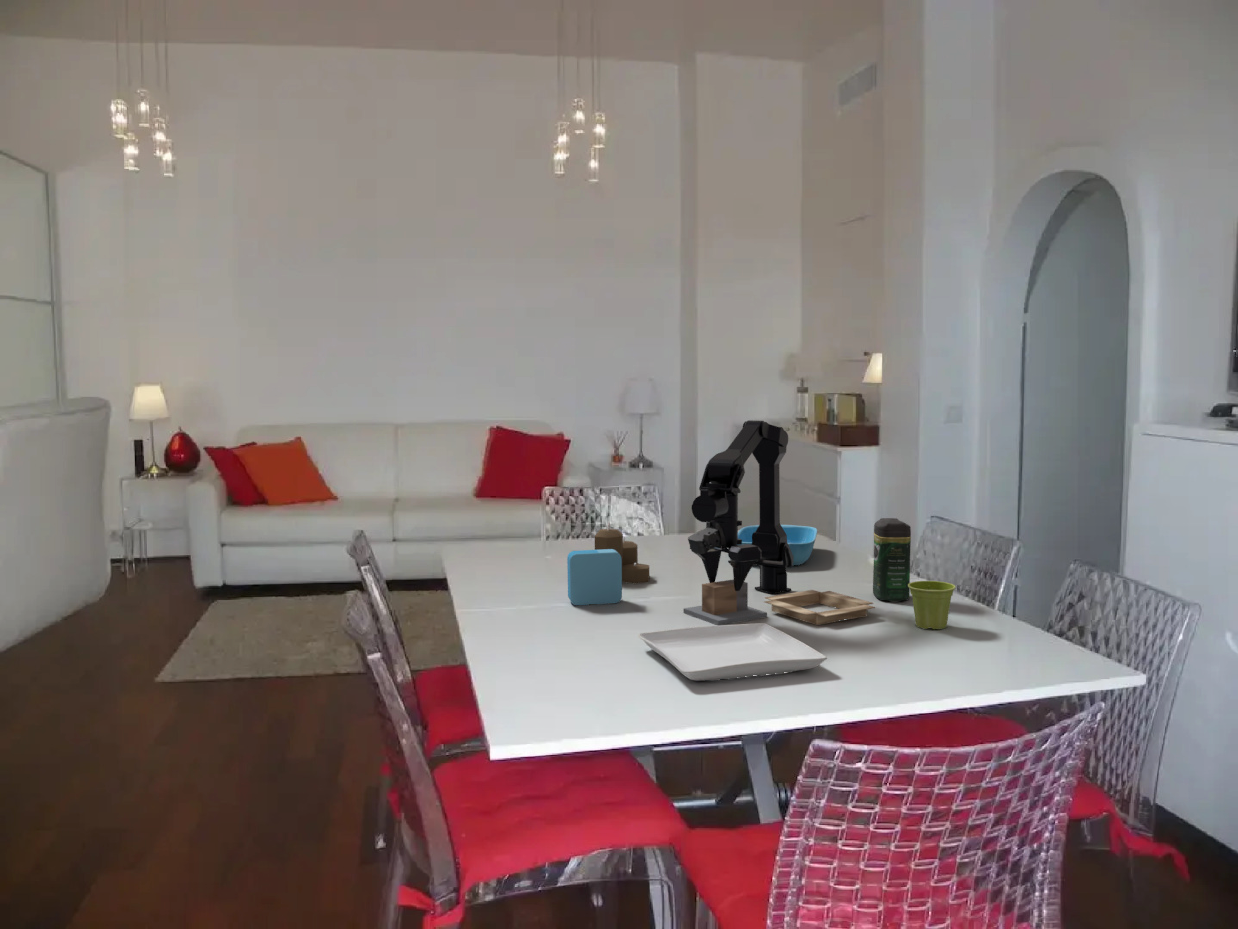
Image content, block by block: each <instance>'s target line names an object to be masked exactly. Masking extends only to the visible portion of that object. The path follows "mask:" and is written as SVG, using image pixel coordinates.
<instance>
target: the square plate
mask: <svg viewBox="0 0 1238 929" xmlns="http://www.w3.org/2000/svg"><path fill="white" fill-rule="evenodd" d="M637 637H638V638H639V639H640V640H642V641H643V642H644V643H645V644H646V646H648V647H649V649H651V650H652V651H653V652H655V653H657V654H658V655H659V656H661V658H664V659H665V660H666V661H667V662H669V663H670V664H671V665H672V666H673V667H674V668H676V670H678V671H679V673H680V674H682V675H683V676H685V678H688V679H689V680H691V681H705V680H718V681H721V680H720V679H728V678H737V677H745V676H753V675H765V676H767V675H766V674H775V673H784V672H790V673H792V672H791V671H794V672H796V671H804V670H805V671H806V670H810V669H814V668H816V667H818V666H820V665H821V664H822V663H823V662H824V661H825V660H827V659H828V656H826V655H825V654H823V653H821V652H819V651H818V650H816V649H814V648H813V647H811V646H809V645H807V644H806V643H804V642H803V641H800V640H799V639H797V638H795V637H793V636H791V635H789V634H788V633H786V632H783V631H782V630H780V629H778V628H775V627H773V626H772V625H769V624H767V623H764V622H759V623H758V622H757V623H744V624H742V623H741V624H724V625H705V626H693V627H683V628H674V629H667V630H666V629H665V630H658V631H650V632H640V633H638V634H637ZM784 674H785V673H784ZM775 675H776V674H775ZM737 679H738V678H737ZM728 680H729V679H728Z"/></svg>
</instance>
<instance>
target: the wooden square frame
mask: <svg viewBox="0 0 1238 929" xmlns="http://www.w3.org/2000/svg"><path fill="white" fill-rule="evenodd" d="M764 599H766V600H765V601H764V602H763V603H766V604H769V605H770V606H771V611H772V612H773V613H774V612H775V613H777V614H780V615H784V616H788V617H791V618H792V619H793V618H794V619H796V620H800V619H801V620H800V621H803V620H804V621H803V622H806V621H807V623H810V624H812V625H816V626H820V625H825V623H826V624H830V623H831V622H832V623H835V622H834V621H837V622H840V621H839V620H842V621H845V620H844V619H848V620H854V619H857V618H858V617H859V618H864V617H867V613H868V612H867V611H868V610H871V609H876V606H872V605H874V602H872V601H869V600H865V599H861V598H857V597H852V596H850V595H846V594H843V593H839V592H835V591H831V590H827V591H818V590H814V589H809V590H804V591H803V590H802V591H796V592H790V593H785V594H784V593H783V594H778V595H777V594H776V595H771V596H766V597H764ZM816 604H821V605H824V606H828V607H831V608H834V607H836V608H834V609H831V610H825V611H820V612H819V611H818V612H817V611H814V610H810V609H807V608H803V607H806V606H811V605H816ZM838 608H839V609H838ZM863 616H864V617H863Z"/></svg>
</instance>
